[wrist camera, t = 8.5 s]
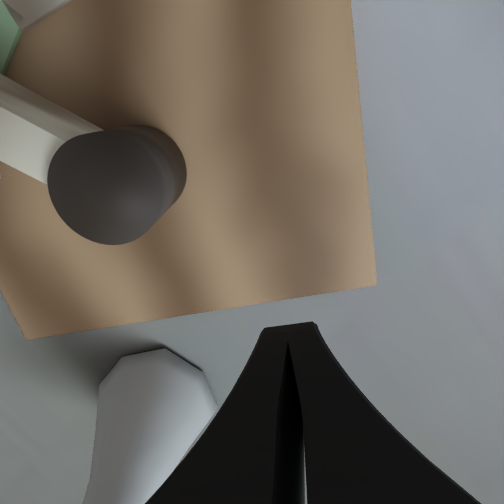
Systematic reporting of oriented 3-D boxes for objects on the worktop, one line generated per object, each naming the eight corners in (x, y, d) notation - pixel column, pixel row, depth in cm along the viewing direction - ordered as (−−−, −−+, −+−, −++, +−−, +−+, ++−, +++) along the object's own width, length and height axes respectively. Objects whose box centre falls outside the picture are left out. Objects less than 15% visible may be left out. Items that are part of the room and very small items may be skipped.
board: (321, -244, 12) (326, -281, 11) (372, 276, 20) (378, 287, 19) (-169, -77, 15) (-207, -92, 14) (36, 329, 22) (23, 343, 21)
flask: (81, 377, 24) (-41, 555, 14) (168, 328, 22) (92, 495, 13) (152, 447, 26) (85, 642, 17) (237, 408, 24) (215, 601, 15)
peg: (201, 153, 17) (176, 171, 12) (165, 226, 18) (132, 265, 14) (-114, -24, 15) (-273, -75, 10) (-126, 74, 16) (-269, 65, 12)
